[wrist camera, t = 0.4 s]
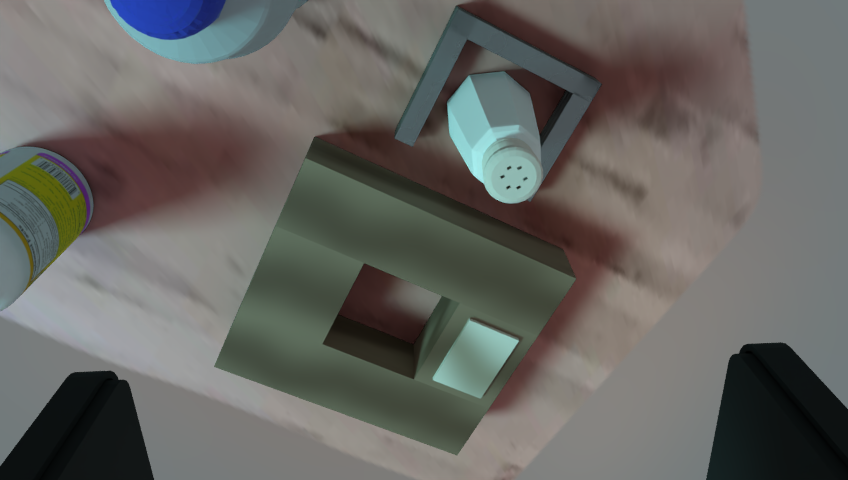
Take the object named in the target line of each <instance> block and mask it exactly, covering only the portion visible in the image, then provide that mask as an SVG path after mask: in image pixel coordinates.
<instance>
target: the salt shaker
mask: <svg viewBox="0 0 848 480" xmlns="http://www.w3.org/2000/svg"><path fill="white" fill-rule="evenodd" d="M447 110H448V121H449V132H450V136H451V138H452V140H453V142H454V143H455V145H456V147H457V149H458V150H459V152H460V154H461V156H462V157H463V159H464V161H465V163H466V164H467V166H468V168H469V170H470V171H471V173H472V174H473V175H474V176H475V177H476V178H477V179H478V180H480V181H481V182H482V183H484V185H485V187H486V190H487V191H488V192H489V194H490V195H491V196H492V197H493V198H495V199H496V200H498V201H501V202H503V203H510V204H511V203H519V202H522V201H525V200H527V199H528V198H530V197H531V196H533V195H534V194H535V192H536V191H537V190H538V189H539V187H540V185H541V183H542V179H543V168H542V165H541V145H540V136H539V131H538V127H537V123H536V118H535V114H534V109H533V105H532V101H531V96H530V93H529V92H528V91H527V90H526V89H524V88H523V87H522V86H521V85H520V84H519V83H517V82H516V81H515V80H514V79H513V78H512V77H510V76H509V75H508V74H507V73H506V72H504V71H502V72H492V73H483V74H474V75H469V76H468V77H467V78H466V80H465V81H464V82H463V83H462V84H461V86H460V87H459V88H458V89H457V90H456V92H455V93H454V94H453V95H452V96H451V98H450V99H449V100H448V101H447Z"/></svg>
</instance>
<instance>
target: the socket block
mask: <svg viewBox="0 0 848 480" xmlns="http://www.w3.org/2000/svg"><path fill="white" fill-rule="evenodd" d="M364 263H365V264H368V265H370V266H372V267H375V268H377V269H379V270H382V271H384V272H387V273H389V274H391V275H394V276H396V277H399V278H401V279H403V280H406V281H408V282H410V283H413V284H415V285H418V286H420V287H422V288H425V289H427V290H430V291H432V292H434V293H437V294H439V295H441V296H442V297H441V299H440V301H439V302H438V304H437V306H436V308H435V309H434V311H433V313H432V314H431V316H430V318H429V320H428V321H427V323H426V325H425V326H424V328H423V330H422V331H421V333H420V335H419V337H418V338H417V340H416V342H415V343H414V345H413V344H410V343H408V342H405V341H403V340H400V339H398V338H395V337H393V336H390V335H388V334H385V333H383V332H380V331H378V330H375V329H373V328H370V327H368V326H365V325H363V324H360V323H358V322H355V321H353V320H350V319H348V318H345V317H343V316H340V315H338V313H339V311H340V309H341V307H342V305H343V303H344V301H345V299H346V297H347V295H348V293H349V291H350V289H351V287H352V285H353V283H354V282H355V280H356V278H357V276H358V274H359V272H360V270H361V268H362V266H363V264H364ZM575 280H576V277H575V275H574V272H573V270H572V268H571V266H570V264H569V261H568V259H567V257H566V255H565V253H564V250H563V249H561V248H559V247H556V246H554V245H552V244H550V243H548V242H545V241H543V240H541V239H539V238H537V237H534V236H532V235H530V234H528V233H526V232H523V231H521V230H519V229H517V228H515V227H512V226H510V225H508V224H506V223H504V222H501V221H499V220H497V219H495V218H493V217H490V216H488V215H486V214H484V213H482V212H479V211H477V210H475V209H473V208H471V207H468V206H466V205H464V204H462V203H460V202H457V201H455V200H453V199H451V198H449V197H446V196H444V195H442V194H440V193H438V192H435V191H433V190H431V189H429V188H427V187H424V186H422V185H420V184H418V183H416V182H413V181H411V180H409V179H407V178H405V177H402V176H400V175H398V174H396V173H394V172H391V171H389V170H387V169H385V168H383V167H380V166H378V165H376V164H374V163H372V162H369V161H367V160H365V159H363V158H361V157H358V156H356V155H354V154H352V153H350V152H347V151H345V150H343V149H341V148H339V147H336V146H334V145H332V144H330V143H328V142H325V141H323V140H321V139H319V138H317V137H314V139H313V141H312V144H311V146H310V148H309V151H308V153H307V155H306V157H305V160H304V162H303V164H302V167H301V169H300V171H299V173H298V176H297V178H296V180H295V182H294V185H293V187H292V189H291V192H290V194H289V196H288V198H287V201H286V203H285V205H284V208H283V210H282V212H281V214H280V217H279V219H278V221H277V224H276V226H275V228H274V230H273V233H272V235H271V237H270V239H269V242H268V244H267V246H266V249H265V251H264V253H263V255H262V258H261V260H260V262H259V265H258V267H257V269H256V271H255V274H254V276H253V278H252V280H251V283H250V285H249V287H248V290H247V292H246V294H245V296H244V299H243V301H242V303H241V306H240V308H239V310H238V312H237V315H236V317H235V319H234V322H233V324H232V326H231V328H230V331H229V333H228V335H227V338H226V340H225V342H224V345H223V347H222V349H221V352H220V354H219V356H218V359H217V361H216V363H215V366H214V367H216V368H219V369H222V370H225V371H227V372H230V373H233V374H236V375H238V376H241V377H244V378H246V379H249V380H252V381H255V382H257V383H260V384H263V385H266V386H268V387H271V388H274V389H277V390H279V391H282V392H285V393H288V394H290V395H293V396H296V397H298V398H301V399H304V400H307V401H309V402H312V403H315V404H318V405H320V406H323V407H326V408H329V409H331V410H334V411H337V412H340V413H342V414H345V415H348V416H351V417H353V418H356V419H359V420H361V421H364V422H367V423H370V424H372V425H375V426H378V427H381V428H383V429H386V430H389V431H392V432H394V433H397V434H400V435H403V436H405V437H408V438H411V439H414V440H416V441H419V442H422V443H424V444H427V445H430V446H433V447H435V448H438V449H441V450H444V451H446V452H449V453H452V454H455V455H458V453H459V452H460V450H461V449H462V447H463V446H464V444H465V443H466V441H467V440H468V439H469V437H470V436H471V434H472V433H473V431H474V430H475V428H476V427H477V425H478V424H479V422H480V421H481V419H482V418H483V416H484V415H485V413H486V412H487V410H488V409H489V407H490V406H491V404H492V403H493V402H494V400H495V399H496V397H497V396H498V394H499V393H500V391H501V390H502V388H503V387H504V385H505V384H506V382H507V381H508V379H509V378H510V376H511V375H512V373H513V372H514V370H515V369H516V367H517V366H518V364H519V363H520V362H521V360H522V359H523V357H524V356H525V354H526V353H527V351H528V350H529V348H530V347H531V345H532V344H533V342H534V341H535V339H536V338H537V336H538V335H539V333H540V332H541V330H542V329H543V327H544V326H545V325H546V323H547V322H548V320H549V319H550V317H551V316H552V314H553V313H554V311H555V310H556V308H557V307H558V305H559V304H560V302H561V301H562V299H563V298H564V296H565V295H566V293H567V292H568V290H569V289H570V287H571V286H572V285H573V283H574V282H575Z"/></svg>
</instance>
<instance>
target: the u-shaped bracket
mask: <svg viewBox="0 0 848 480" xmlns="http://www.w3.org/2000/svg"><path fill="white" fill-rule="evenodd" d="M467 39H468V40H470V41H472V42H474V43H476V44H478V45H480V46H482V47H484V48H486V49H488V50H489V51H491V52H493V53H495V54H497V55H499V56H501V57H503V58H505V59H507V60H509V61H511V62H513V63H515V64H517V65H519V66H521V67H523V68H525V69H526V70H528V71H530V72H532V73H534V74H536V75H538V76H540V77H542V78H544V79H546V80H548V81H550V82H552V83H554V84H556V85H558V86H560V87H561V88H563V89H565V90H566V92H565V93H564V95H563V97H562V98H561V100H560V102H559V103H558V105H557V107H556V109H555V110H554V112H553V114H552V115H551V117H550V119H549V120H548V122H547V124H546V126H545V127H544V129H543V131H542V132H541V134H540V145H541V165H542V168H543V179H542V182H543V180H544V179H545V177H546V175H547V174H548V172H549V170H550V169H551V167H552V165H553V164H554V162H555V160H556V159H557V157H558V156H559V154H560V152H561V151H562V149H563V147H564V146H565V144H566V142H567V141H568V139H569V137H570V136H571V134H572V132H573V131H574V129H575V128H576V126H577V124H578V123H579V121H580V119H581V118H582V116H583V114H584V113H585V111H586V109H587V108H588V106H589V105H590V103H591V101H592V100H593V98H594V96H595V95H596V93H597V91H598V90H599V88H600V86H601V85H602V84H601V83H600V82H599V81H598V80H597V79H596V78H594V77H592V76H590V75H588V74H586V73H584V72H582V71H581V70H579V69H577V68H575V67H573V66H571V65H569V64H567V63H565V62H563V61H561V60H560V59H558V58H556V57H554V56H552V55H550V54H548V53H546V52H544V51H542V50H540V49H539V48H537V47H535V46H533V45H531V44H529V43H527V42H525V41H523V40H521V39H519V38H518V37H516V36H514V35H512V34H510V33H508V32H506V31H504V30H502V29H500V28H498V27H497V26H495V25H493V24H491V23H489V22H487V21H485V20H483V19H481V18H479V17H477V16H476V15H474V14H472V13H470V12H468V11H466V10H464V9H462V8H460V7H458V6H456V7H455V9H454V11H453V13H452V15H451V18H450V20H449V22H448V24H447V26H446V28H445V30H444V32H443V34H442V36H441V38H440V40H439V42H438V44H437V46H436V48H435V50H434V52H433V54H432V56H431V58H430V60H429V62H428V64H427V66H426V69H425V71H424V73H423V75H422V77H421V79H420V81H419V83H418V85H417V87H416V89H415V91H414V93H413V95H412V97H411V99H410V101H409V103H408V105H407V107H406V109H405V111H404V113H403V115H402V118H401V120H400V122H399V124H398V126H397V128H396V130H395V139H397V140H399V141H401V142H403V143H406V144H408V145H410V146H412V147H413V145H414V143H415V141H416V139H417V137H418V135H419V133H420V131H421V129H422V127H423V125H424V123H425V121H426V119H427V117H428V115H429V113H430V111H431V109H432V107H433V105H434V103H435V101H436V100H437V98H438V96H439V94H440V92H441V90H442V88H443V86H444V84H445V82H446V80H447V78H448V76H449V74H450V72H451V70H452V68H453V66H454V64H455V62H456V60H457V58H458V56H459V54H460V52H461V50H462V48H463V46H464V44H465V42H466V40H467ZM541 184H542V183H541ZM536 192H537V191H536ZM536 192H535V193H536ZM534 195H535V194H534ZM534 195H533V196H531V197H530V198H528V199H527V200H528V201H530V202H531V200H532V198H533V197H534Z"/></svg>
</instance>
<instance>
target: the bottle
mask: <svg viewBox="0 0 848 480" xmlns="http://www.w3.org/2000/svg"><path fill="white" fill-rule="evenodd" d="M104 1H105V3H106V5H107V7H108V9H109V10H110V12H111V14H112V15H113V16H114V18H115V19H116V20H117V22H118V23H119V24H120V26H121V27H122V28H123V29H124V30H125V31H126V32H127V33H128V34H129V35H130V36H131V37H132V38H134V39H135V40H136V41H138V42H139V43H140V44H142V45H143V46H144V47H146V48H147V49H149V50H151V51H153V52H155V53H156V54H158V55H161V56H163V57H165V58H168V59H172V60H176V61H180V62H186V63H193V64H198V63H211V62H216V61H220V60H224V59H232V58H237V57H242V56H245V55H248V54H250V53H253V52H255V51H257V50H259V49H261V48H262V47H264V46H265V45H267V44H268V43H270V42H271V41H272V40H273V39H274V38H275V37H276V36H277V35H278V34H279V33H280V32H281V31H282V30H283V28H284V27H285V25H286V24H287V23H288V21H289V19H290V17H291V16H292V14H293V12H294V11H295V9H297V8H299V7H300V6H302V5H303V4H304V3H306V2H307V1H308V0H104Z"/></svg>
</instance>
